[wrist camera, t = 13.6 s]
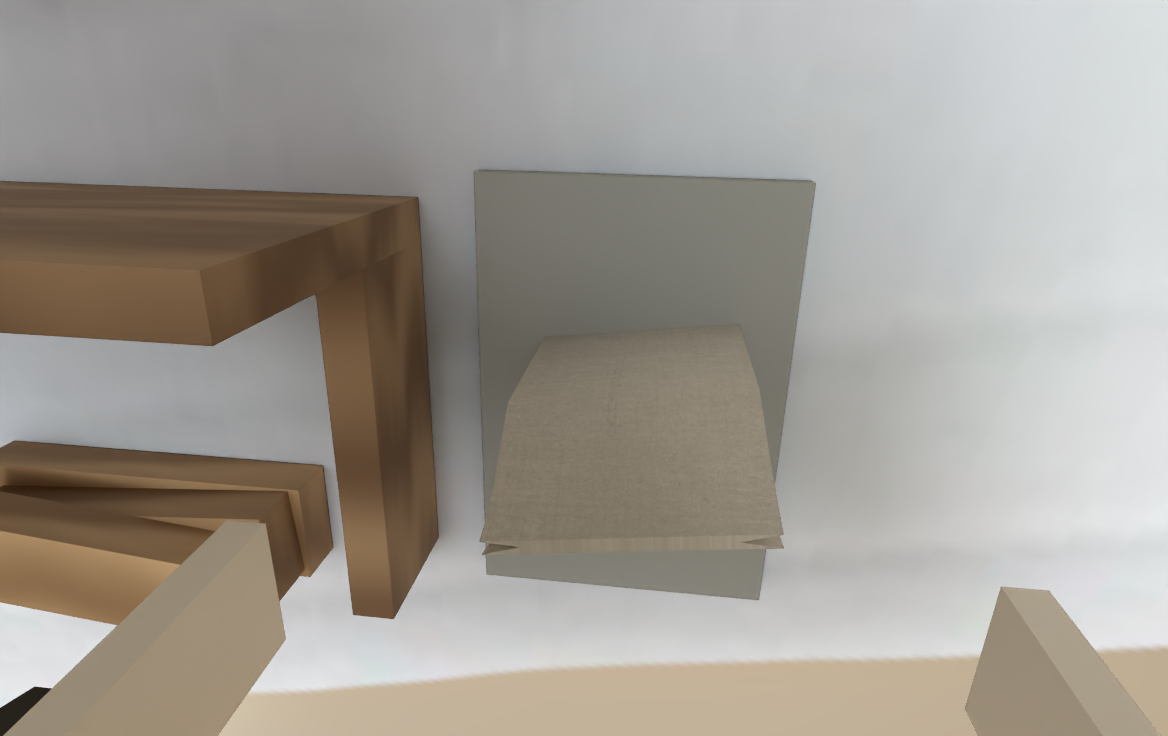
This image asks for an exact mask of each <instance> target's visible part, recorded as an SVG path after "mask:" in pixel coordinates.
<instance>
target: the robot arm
mask: <svg viewBox="0 0 1168 736" xmlns="http://www.w3.org/2000/svg"><path fill="white" fill-rule="evenodd" d="M285 639H286V637H285V631H284V626H283V620H282V614H281V608H280V603H279V597H278V591H277V586H276V580H275V574H274V569H273V563H272V557H271V552H270V546H269V540H268V535H267V529H266V524H265V523H254V522H242V521H230V520H227V521H226V522H225V523H224V524H223V525H222V526H220V527H219V528H218V529H217V530H216V531H215V532H214V533H213V534H212V535H211V536H210V537H209V538H208V539H207V540H206V541H205V542H204V543H203V544H202V545H201V546H200V547H199V548H198V549H197V550H196V551H195V552H193V553H192V554H191V555H190V556H189V557H188V558H187V559H186V560H185V561H184V562H183V563H182V564H181V565H180V566H179V567H178V568H177V569H176V570H175V571H174V572H173V573H172V574H171V575H170V576H169V577H168V578H166V579H165V580H164V581H163V582H162V583H161V584H160V585H159V586H158V587H157V588H156V589H155V590H154V591H153V592H152V593H151V594H150V595H149V596H148V597H147V598H146V599H145V600H144V601H143V602H142V603H140V604H139V605H138V606H137V607H136V608H135V609H134V610H133V611H132V612H131V613H130V614H129V615H128V616H127V617H126V618H125V619H124V620H123V621H122V622H121V623H120V624H119V625H118V626H117V627H116V628H115V629H113V630H112V631H111V632H110V633H109V634H108V635H107V636H106V637H105V638H104V639H103V640H102V641H101V642H100V643H99V644H98V645H97V646H96V647H95V648H94V649H93V650H92V651H91V652H90V653H89V654H87V655H86V656H85V657H84V658H83V659H82V660H81V661H80V662H79V663H78V664H77V665H76V666H75V667H74V668H73V669H72V670H71V671H70V672H69V673H68V674H67V675H66V676H65V677H64V678H63V679H62V680H60V681H59V682H58V683H57V684H56V685H55V686H54V687H53V688H52V689H51V688H42V687H33V688H32V689H30V690H29V691H27V692H25V693H24V694H22V695H20V696H19V697H17V698H16V699H14V700H12V701H11V702H9V703H7V704H6V705H4V706H3V707H1V708H0V736H218V735H219V733H220V732H221V731H222V729H223V728H224V726H225V725H226V723H227V722H228V721H229V719H230V718H231V716H232V715H233V713H234V712H235V711H236V709H237V708H238V706H239V705H240V703H241V702H242V701H243V699H244V698H245V696H246V695H247V694H248V692H249V691H250V689H251V688H252V686H253V685H254V684H255V682H256V681H257V679H258V678H259V676H260V675H261V674H262V672H263V671H264V669H265V668H266V667H267V665H268V664H269V662H270V661H271V659H272V658H273V657H274V655H275V654H276V652H277V651H278V649H279V648H280V647H281V645H282V644H283V642H284V641H285ZM965 710H966V712H967V713H968V716H969V718H970V720H971V722H972V724H973V726H974V728H975V730H976V732H977V734H978V736H1161V735H1160V734H1159V732H1158V731H1157V730H1156V728H1155V727H1154V726H1153V725H1152V723H1151V722H1150V721H1149V719H1148V718H1147V717H1146V715H1145V714H1144V713H1143V712H1142V710H1141V709H1140V708H1139V706H1138V705H1137V704H1136V703H1135V701H1134V700H1133V699H1132V697H1131V696H1130V695H1129V693H1128V692H1127V691H1126V690H1125V688H1124V687H1123V686H1122V684H1121V683H1120V682H1119V681H1118V679H1117V678H1116V677H1115V675H1114V674H1113V673H1112V672H1111V670H1110V669H1109V668H1108V666H1107V665H1106V664H1105V663H1104V661H1103V660H1102V659H1101V657H1100V656H1099V655H1098V653H1097V652H1096V651H1095V650H1094V648H1093V647H1092V646H1091V644H1090V643H1089V642H1088V640H1087V639H1086V638H1085V637H1084V635H1083V634H1082V633H1081V631H1080V630H1079V629H1078V628H1077V626H1076V625H1075V624H1074V622H1073V621H1072V620H1071V619H1070V617H1069V616H1068V615H1067V613H1066V612H1065V611H1064V609H1063V608H1062V607H1061V606H1060V604H1059V603H1058V602H1057V600H1056V599H1055V598H1054V597H1053V595H1052V594H1051V593H1050V591H1046V590H1035V589H1023V588H1011V587H1001V589H1000V592H999V596H998V599H997V602H996V606H995V609H994V612H993V616H992V619H991V622H990V626H989V629H988V632H987V636H986V639H985V643H984V646H983V649H982V653H981V656H980V659H979V663H978V666H977V669H976V673H975V676H974V679H973V683H972V686H971V690H970V693H969V696H968V700H967V703H966V706H965Z"/></svg>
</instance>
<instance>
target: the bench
mask: <svg viewBox="0 0 1168 736" xmlns="http://www.w3.org/2000/svg"><path fill="white" fill-rule="evenodd" d="M314 294H316V299H317V308H318V317H319V325H320V334H321V343H322V351H323V360H324V368H325V377H326V386H327V394H328V403H329V411H330V420H331V429H332V437H333V446H334V454H335V463H336V472H337V480H338V489H339V498H340V506H341V515H342V523H343V532H344V541H345V549H346V558H347V566H348V575H349V584H350V592H351V601H352V609H353V615H360V616H369V617H379V618H389V619H394V618H395V616H396V614H397V612H398V611H399V609H400V607H401V605H402V603H403V601H404V600H405V598H406V596H407V594H408V592H409V590H410V589H411V587H412V585H413V583H414V581H415V579H416V578H417V576H418V574H419V572H420V570H421V569H422V567H423V565H424V563H425V561H426V559H427V558H428V556H429V554H430V552H431V550H432V548H433V547H434V545H435V543H436V541H437V539H438V524H437V507H436V490H435V474H434V457H433V440H432V424H431V407H430V390H429V374H428V357H427V340H426V324H425V307H424V290H423V274H422V257H421V240H420V224H419V207H418V197H403V196H377V195H351V194H325V193H299V192H273V191H246V190H220V189H194V188H168V187H142V186H116V185H90V184H64V183H37V182H11V181H0V333H14V334H29V335H45V336H61V337H77V338H93V339H109V340H124V341H140V342H156V343H172V344H188V345H204V346H214V345H216V344H218V343H220V342H222V341H224V340H225V339H227V338H229V337H231V336H233V335H235V334H237V333H239V332H241V331H243V330H245V329H247V328H249V327H251V326H253V325H255V324H257V323H259V322H261V321H263V320H265V319H267V318H269V317H271V316H273V315H274V314H276V313H278V312H280V311H282V310H284V309H286V308H288V307H290V306H292V305H294V304H296V303H298V302H300V301H302V300H304V299H306V298H308V297H310V296H312V295H314Z"/></svg>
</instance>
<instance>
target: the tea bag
mask: <svg viewBox="0 0 1168 736" xmlns="http://www.w3.org/2000/svg"><path fill="white" fill-rule="evenodd" d="M779 535H784V533H783V528H782V523H781V518H780V513H779V508H778V502H777V496H776V490H775V484H774V478H773V472H772V466H771V460H770V453H769V447H768V440H767V434H766V427H765V421H764V415H763V408H762V402H761V395H760V389H759V386H758V382H757V379H756V376H755V373H754V370H753V367H752V364H751V360H750V357H749V354H748V351H747V348H746V345H745V342H744V338H743V335H742V332H741V329H740V326H739V324H729V325H714V326H700V327H685V328H670V329H655V330H641V331H626V332H611V333H596V334H582V335H567V336H552V337H544V339H543V341H542V343H541V345H540V346H539V348H538V350H537V352H536V353H535V355H534V357H533V359H532V361H531V362H530V364H529V366H528V368H527V369H526V371H525V373H524V375H523V377H522V378H521V380H520V382H519V384H518V385H517V387H516V389H515V391H514V392H513V394H512V396H511V398H510V400H509V401H508V405H507V411H506V417H505V422H504V428H503V434H502V439H501V445H500V451H499V456H498V462H497V468H496V473H495V479H494V484H493V489H492V494H491V498H490V503H489V508H488V513H487V517H486V521H485V524H484V528H483V531H482V535H481V538H480V542H486V543H489V545H488V546H487V548H486V549H485V551H484V552H483V554H482V555H489V554H538V553H586V552H635V551H684V550H732V549H781V548H784V547H783V544H782V542H781V539H780V536H779Z"/></svg>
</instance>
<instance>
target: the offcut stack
mask: <svg viewBox="0 0 1168 736" xmlns="http://www.w3.org/2000/svg"><path fill="white" fill-rule="evenodd" d="M227 520H230V521H242V522H254V523H265V524H266V529H267V535H268V540H269V546H270V552H271V557H272V563H273V569H274V574H275V580H276V586H277V591H278V597H279V601H280V600H281V599H282V597H283V596H284V595H285V594H286V592H287V591H288V590H289V589H290V587H291V586H292V585H293V584H294V582H295V581H296V580H297V579H298V577H299V576H308V577H311V575H312V574H313V573H314V571H315V570H316V569H317V568H318V566H319V565H320V564H321V562H322V561H323V560H324V559H325V557H326V556H327V555H328V553H329V552H330V551H331V550H332V548H333V545H332V537H331V529H330V520H329V512H328V504H327V496H326V488H325V480H324V472H323V466H320V465H307V464H295V463H282V462H270V461H258V460H245V459H233V458H220V457H208V456H195V455H183V454H171V453H158V452H146V451H133V450H121V449H109V448H96V447H84V446H71V445H59V444H47V443H34V442H22V441H13V442H11V443H9V444H7V445H5V446H3V447H1V448H0V602H2V603H7V604H12V605H17V606H22V607H27V608H33V609H38V610H43V611H48V612H53V613H58V614H63V615H68V616H73V617H78V618H84V619H89V620H94V621H99V622H104V623H109V624H114V625H119V624H120V623H121V622H122V621H123V620H124V619H125V618H126V617H127V616H128V615H129V614H130V613H131V612H132V611H133V610H134V609H135V608H136V607H137V606H138V605H139V604H140V603H142V602H143V601H144V600H145V599H146V598H147V597H148V596H149V595H150V594H151V593H152V592H153V591H154V590H155V589H156V588H157V587H158V586H159V585H160V584H161V583H162V582H163V581H164V580H165V579H166V578H168V577H169V576H170V575H171V574H172V573H173V572H174V571H175V570H176V569H177V568H178V567H179V566H180V565H181V564H182V563H183V562H184V561H185V560H186V559H187V558H188V557H189V556H190V555H191V554H192V553H193V552H195V551H196V550H197V549H198V548H199V547H200V546H201V545H202V544H203V543H204V542H205V541H206V540H207V539H208V538H209V537H210V536H211V535H212V534H213V533H214V532H215V531H216V530H217V529H218V528H219V527H220V526H222V525H223V524H224V523H225V522H226V521H227Z"/></svg>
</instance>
